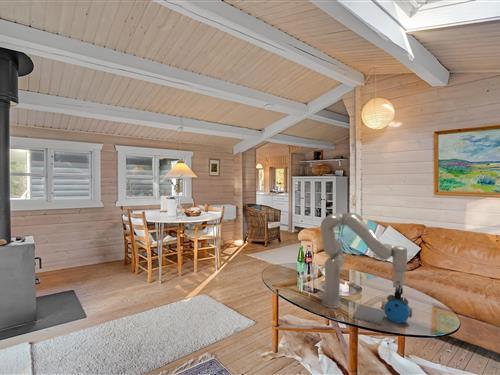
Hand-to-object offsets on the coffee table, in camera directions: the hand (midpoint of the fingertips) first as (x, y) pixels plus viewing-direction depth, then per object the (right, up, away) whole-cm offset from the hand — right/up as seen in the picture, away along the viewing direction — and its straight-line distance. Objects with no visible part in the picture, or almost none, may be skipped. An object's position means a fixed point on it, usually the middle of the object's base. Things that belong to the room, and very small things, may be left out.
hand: (398, 296), depth 176 cm
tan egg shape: (+1, -14, +18) cm, 23 cm away
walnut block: (+11, -15, +9) cm, 21 cm away
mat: (-14, -15, +8) cm, 22 cm away
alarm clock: (-1, -15, +1) cm, 15 cm away
